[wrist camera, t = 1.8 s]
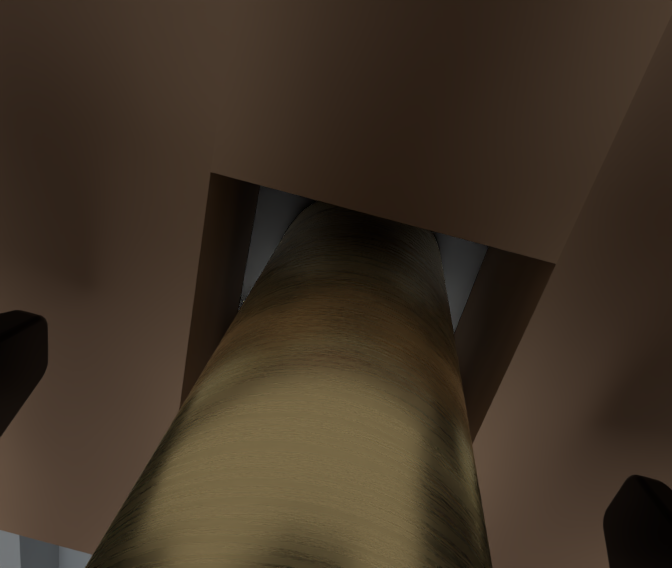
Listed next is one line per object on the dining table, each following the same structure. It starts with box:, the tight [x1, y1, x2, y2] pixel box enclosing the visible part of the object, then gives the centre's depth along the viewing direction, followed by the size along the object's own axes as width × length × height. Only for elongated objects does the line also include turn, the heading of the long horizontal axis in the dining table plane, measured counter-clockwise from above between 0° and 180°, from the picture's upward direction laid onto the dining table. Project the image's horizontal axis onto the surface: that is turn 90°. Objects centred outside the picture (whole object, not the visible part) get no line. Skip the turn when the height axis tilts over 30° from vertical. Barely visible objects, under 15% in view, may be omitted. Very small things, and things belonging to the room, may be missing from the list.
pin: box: [85, 201, 493, 568], centre depth 8 cm, size 4×4×10 cm
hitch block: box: [0, 0, 672, 568], centre depth 11 cm, size 14×14×4 cm
